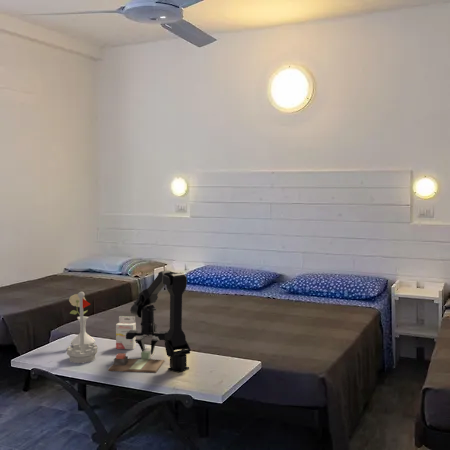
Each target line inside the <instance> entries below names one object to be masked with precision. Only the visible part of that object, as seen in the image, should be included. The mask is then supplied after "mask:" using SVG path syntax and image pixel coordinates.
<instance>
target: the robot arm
mask: <svg viewBox="0 0 450 450" xmlns="http://www.w3.org/2000/svg"><path fill="white" fill-rule="evenodd" d="M187 283H188V278H187V276H186V275H185V273H184V272H174V271H170V270H162V271H158V274H157V276H156V277H155V279H154V280H153V281H152V282H151V283H150V285H149V286H148V287H147V288H145V289H143V290H141V292H139V293H138V296H137V298H136V301H133V304H132V305H131V308H130V314H131V315H132V316H134V317H136V318H140V322H141V323H140V326H141V327H140V330H141V331H140V332H138V331H139V330H137V329H136V330H130V331H128V332H127V333H126V339H133V338H134V337H136V339H135V341H136V343H137V344H138V346H139V348H140V350H141V352H142V351H143V350H144V349H145V348H146V347H145V346H146V345H145V338H152V339H151V341H150V346H151V355H152V354H153V351H154V348H155V347H156V345H157V343H158V342H159V341H164V347H165V353H166V355H167V357H168V358H169V367H167V370H168V371H173V372H176V373H180V372H183V371H186V370H188V369H190V367H189V366H187V355H189V354H191V347H190V345H189V343H188V342H187V340H186V333H185V332H184V331H183V329H182V328H183V327H182V326H183V324H182V323H183V295H184V292H185V291H186V289H187ZM164 287H165V288H166V290H167V291H168V293H169V329H168V330H160V331H159V332H158V324H156V323H155V322H156V321H155V312H156V311H157V308H156V307H155V305H154V304H156V302H157V300H158V298H159V293H160V292H161V290H162V289H163V288H164ZM155 349H156V348H155Z"/></svg>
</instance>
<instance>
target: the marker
mask: <svg viewBox="0 0 450 450" xmlns="http://www.w3.org/2000/svg"><path fill="white" fill-rule="evenodd" d="M155 350H156V348H154V351H153V354H152V355H151V345H147V346H146V347H145V349H144V350H143V351H142V350H141V352H140V359H152V357H153V355H154V354H155V353H156V351H155Z"/></svg>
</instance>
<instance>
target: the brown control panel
mask: <svg viewBox="0 0 450 450" xmlns="http://www.w3.org/2000/svg"><path fill="white" fill-rule="evenodd" d="M164 363H165V359H152V358H150V359H141V358H129V356H127V355H126V358H125V359H116V357H115V358H114V359H113V364H112V365H111V366H110V367H108V369H107V370H108V371H109V372H129V373H130V372H131V373H132V372H136V373H157V372H158V371H159V369H160V368H161V367H162V366H163V364H164Z"/></svg>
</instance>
